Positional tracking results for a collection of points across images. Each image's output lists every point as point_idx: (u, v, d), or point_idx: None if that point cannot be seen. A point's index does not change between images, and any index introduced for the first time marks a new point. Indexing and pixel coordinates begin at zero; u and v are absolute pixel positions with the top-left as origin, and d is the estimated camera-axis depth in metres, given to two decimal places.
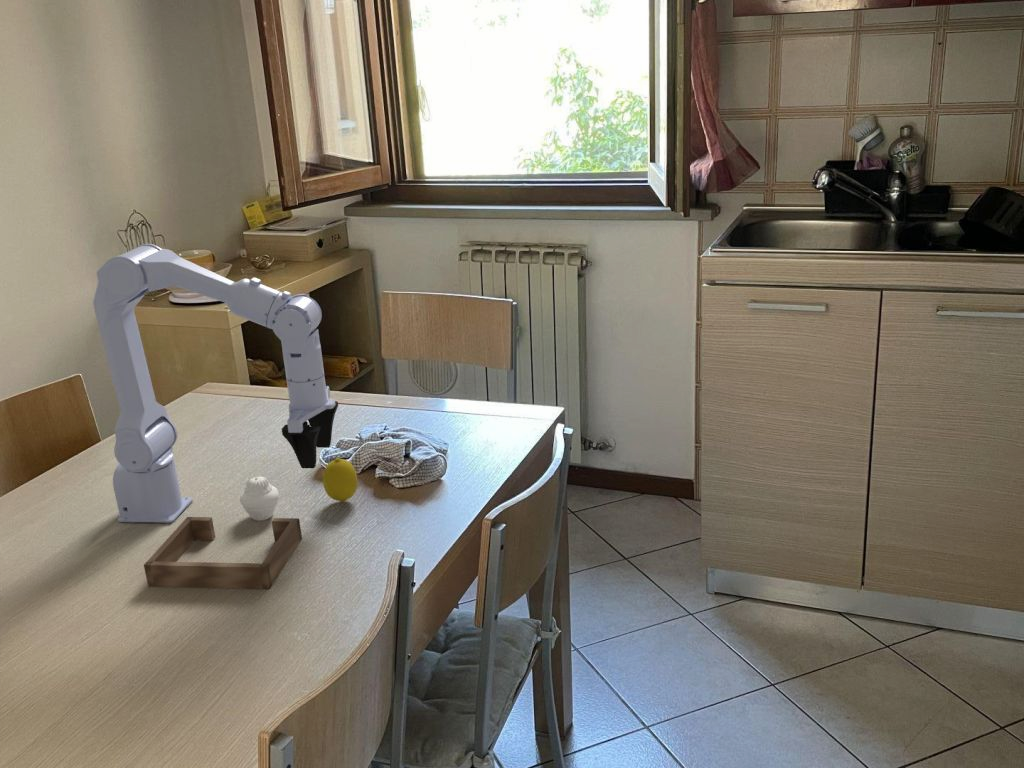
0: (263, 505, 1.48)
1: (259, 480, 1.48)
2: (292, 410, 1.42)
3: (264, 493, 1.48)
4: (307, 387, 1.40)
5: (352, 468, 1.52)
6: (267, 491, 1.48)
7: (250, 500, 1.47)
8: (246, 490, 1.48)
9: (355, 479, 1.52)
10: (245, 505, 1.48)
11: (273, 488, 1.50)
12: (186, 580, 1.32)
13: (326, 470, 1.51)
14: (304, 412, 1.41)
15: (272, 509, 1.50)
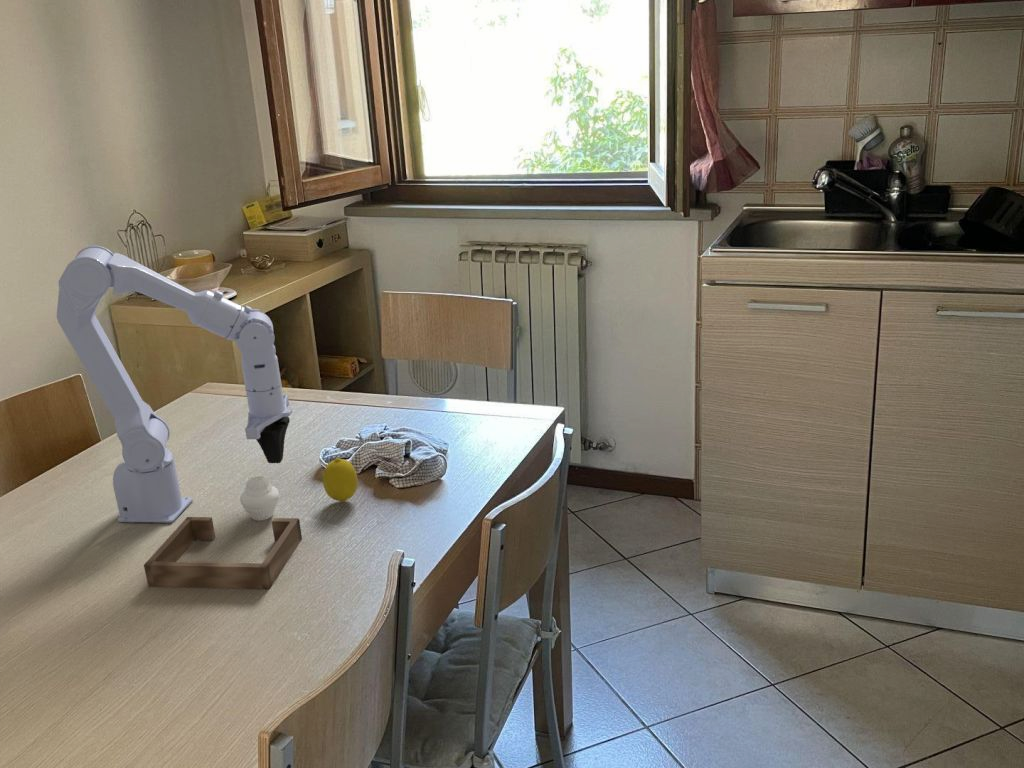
0: (263, 505, 1.48)
1: (259, 480, 1.48)
2: (251, 418, 1.51)
3: (264, 493, 1.48)
4: (264, 396, 1.50)
5: (352, 468, 1.52)
6: (267, 491, 1.48)
7: (250, 500, 1.47)
8: (246, 490, 1.48)
9: (355, 479, 1.52)
10: (245, 505, 1.48)
11: (273, 488, 1.50)
12: (186, 580, 1.32)
13: (326, 470, 1.51)
14: (262, 420, 1.51)
15: (272, 509, 1.50)
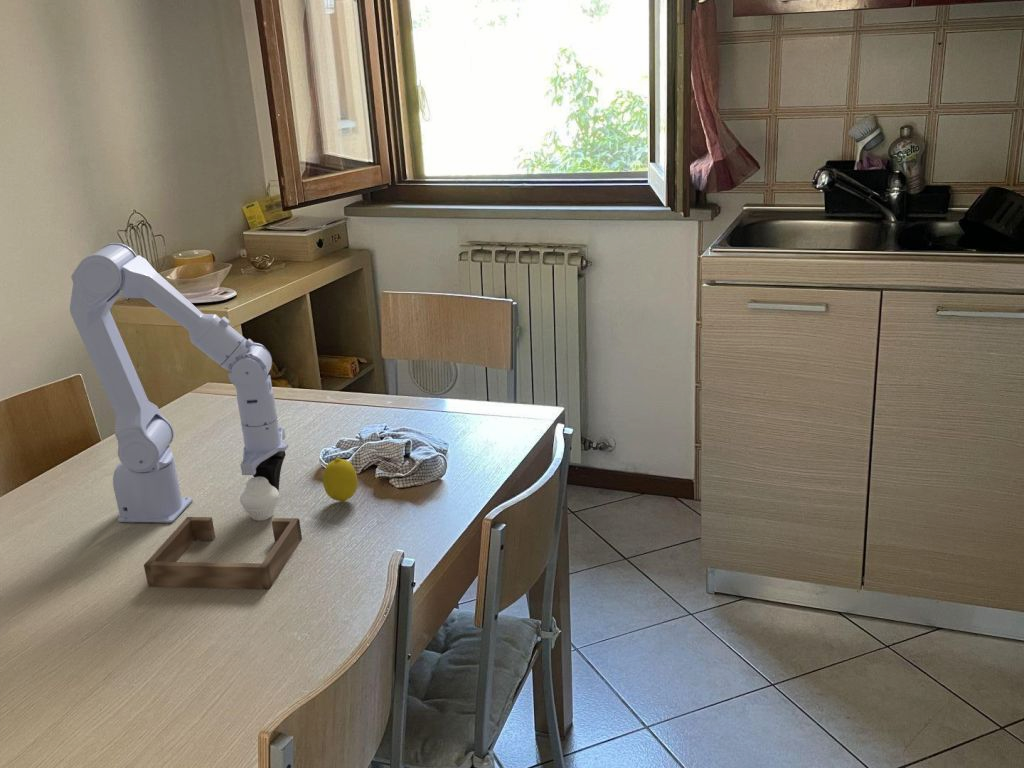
0: (263, 505, 1.48)
1: (259, 480, 1.48)
2: (246, 452, 1.50)
3: (264, 493, 1.48)
4: (260, 431, 1.48)
5: (352, 468, 1.52)
6: (267, 491, 1.48)
7: (250, 500, 1.47)
8: (246, 490, 1.48)
9: (355, 479, 1.52)
10: (245, 505, 1.48)
11: (273, 488, 1.50)
12: (186, 580, 1.32)
13: (326, 470, 1.51)
14: (258, 455, 1.49)
15: (272, 509, 1.50)
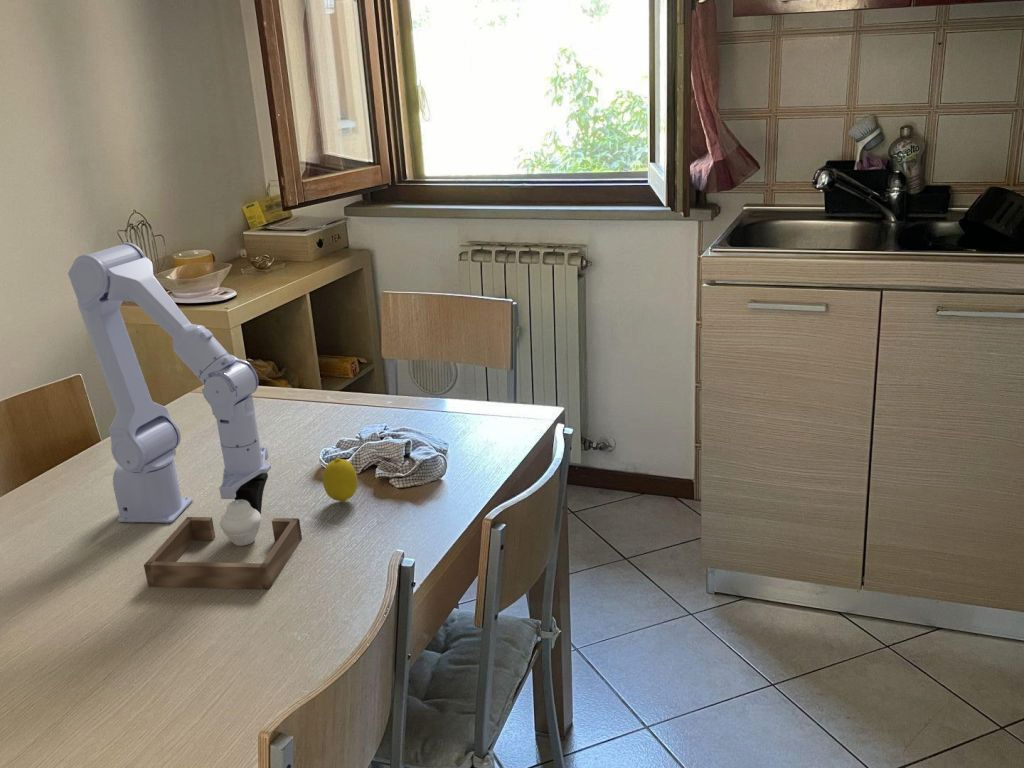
0: (244, 530, 1.40)
1: (240, 503, 1.41)
2: (226, 475, 1.42)
3: (245, 517, 1.41)
4: (241, 452, 1.40)
5: (352, 468, 1.52)
6: (249, 515, 1.41)
7: (231, 525, 1.40)
8: (226, 514, 1.41)
9: (355, 479, 1.52)
10: (225, 530, 1.40)
11: (255, 511, 1.43)
12: (186, 580, 1.32)
13: (326, 470, 1.51)
14: (238, 477, 1.41)
15: (254, 534, 1.42)
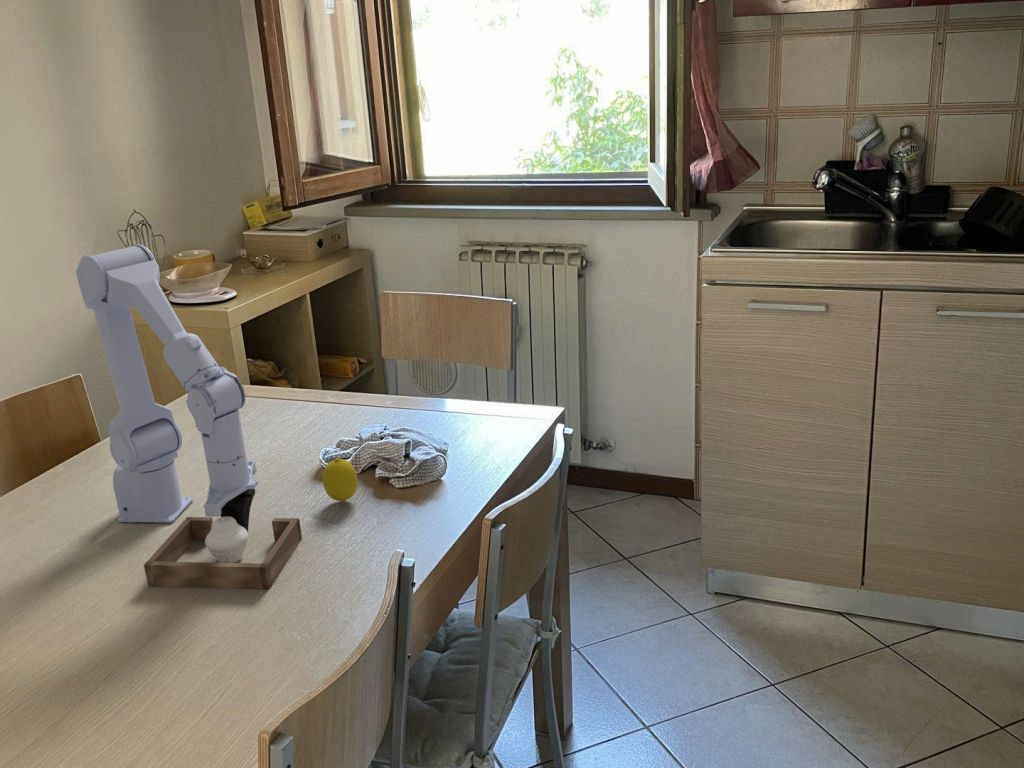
0: (230, 548, 1.35)
1: (226, 521, 1.36)
2: (212, 491, 1.37)
3: (231, 535, 1.36)
4: (226, 468, 1.35)
5: (352, 468, 1.52)
6: (235, 533, 1.36)
7: (216, 543, 1.35)
8: (212, 532, 1.36)
9: (355, 479, 1.52)
10: (210, 548, 1.35)
11: (241, 529, 1.38)
12: (186, 580, 1.32)
13: (326, 470, 1.51)
14: (224, 493, 1.36)
15: (240, 552, 1.37)
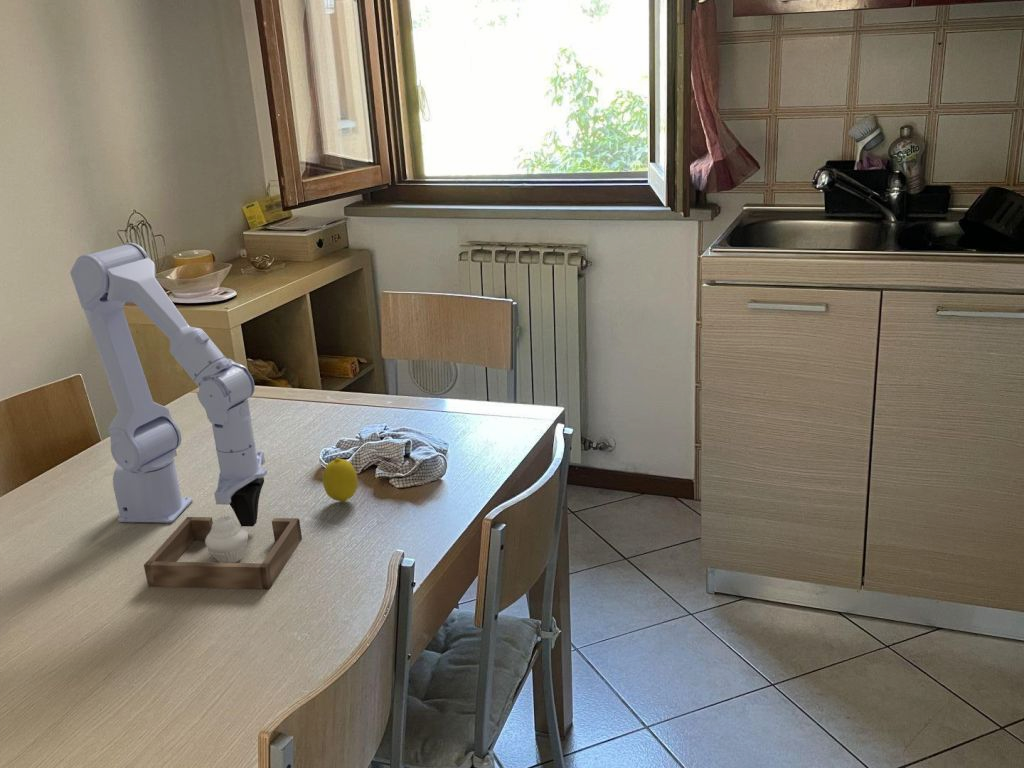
0: (230, 548, 1.35)
1: (226, 521, 1.36)
2: (222, 480, 1.41)
3: (231, 535, 1.36)
4: (236, 457, 1.39)
5: (352, 468, 1.52)
6: (235, 533, 1.36)
7: (216, 543, 1.35)
8: (212, 532, 1.36)
9: (355, 479, 1.52)
10: (210, 548, 1.35)
11: (242, 529, 1.38)
12: (186, 580, 1.32)
13: (326, 470, 1.51)
14: (233, 482, 1.40)
15: (240, 552, 1.37)
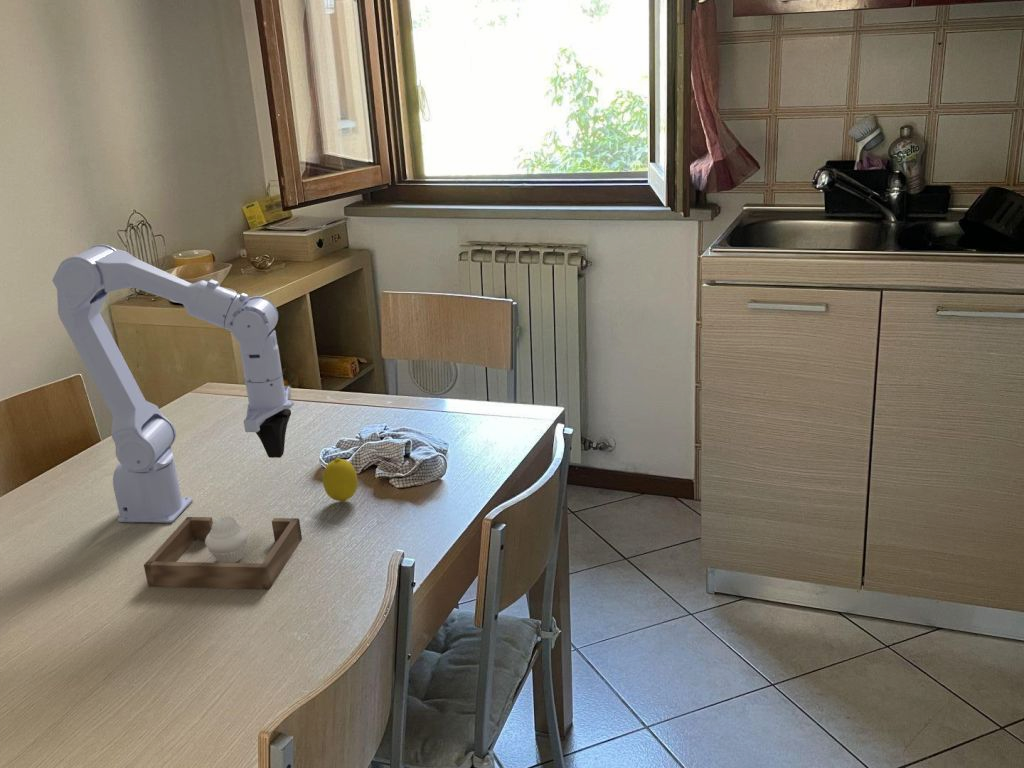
0: (230, 548, 1.35)
1: (226, 521, 1.36)
2: (250, 410, 1.45)
3: (231, 535, 1.36)
4: (264, 387, 1.43)
5: (352, 468, 1.52)
6: (235, 533, 1.36)
7: (216, 543, 1.35)
8: (212, 532, 1.36)
9: (355, 479, 1.52)
10: (210, 548, 1.35)
11: (241, 529, 1.38)
12: (186, 580, 1.32)
13: (326, 470, 1.51)
14: (262, 412, 1.44)
15: (240, 552, 1.37)
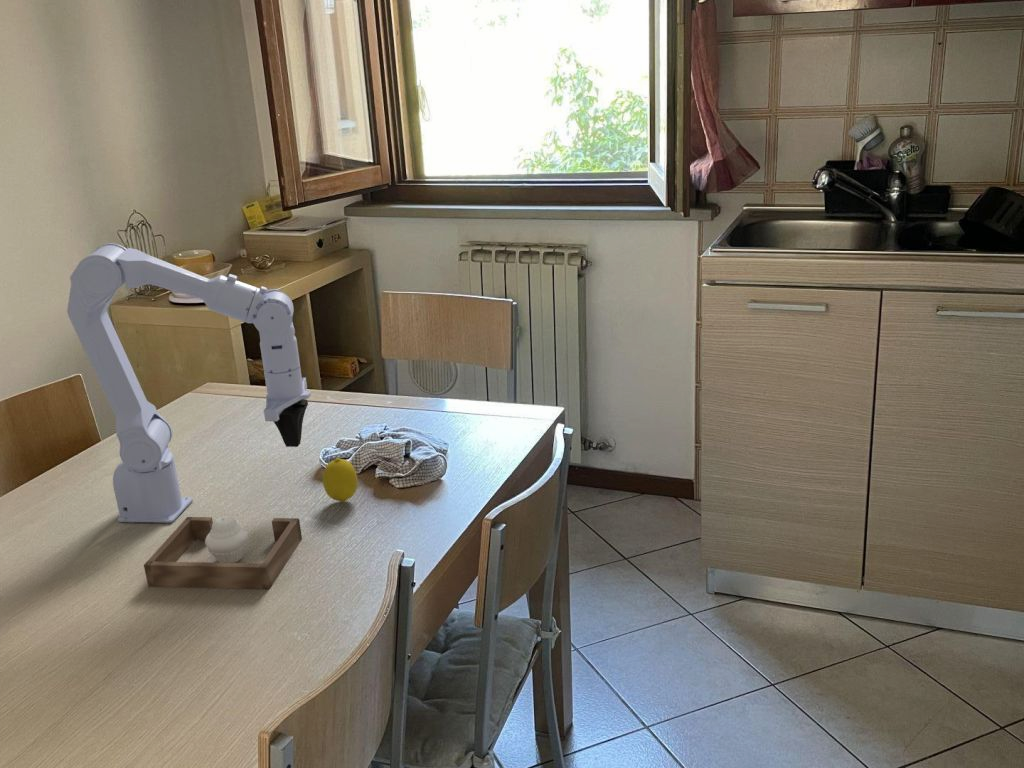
0: (230, 548, 1.35)
1: (226, 521, 1.36)
2: (269, 400, 1.49)
3: (231, 535, 1.36)
4: (283, 378, 1.47)
5: (352, 468, 1.52)
6: (235, 533, 1.36)
7: (216, 543, 1.35)
8: (212, 532, 1.36)
9: (355, 479, 1.52)
10: (210, 548, 1.35)
11: (242, 529, 1.38)
12: (186, 580, 1.32)
13: (326, 470, 1.51)
14: (280, 402, 1.48)
15: (240, 552, 1.37)
